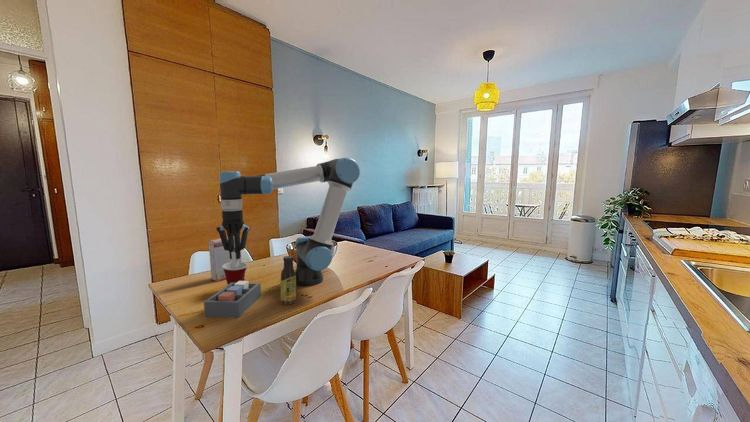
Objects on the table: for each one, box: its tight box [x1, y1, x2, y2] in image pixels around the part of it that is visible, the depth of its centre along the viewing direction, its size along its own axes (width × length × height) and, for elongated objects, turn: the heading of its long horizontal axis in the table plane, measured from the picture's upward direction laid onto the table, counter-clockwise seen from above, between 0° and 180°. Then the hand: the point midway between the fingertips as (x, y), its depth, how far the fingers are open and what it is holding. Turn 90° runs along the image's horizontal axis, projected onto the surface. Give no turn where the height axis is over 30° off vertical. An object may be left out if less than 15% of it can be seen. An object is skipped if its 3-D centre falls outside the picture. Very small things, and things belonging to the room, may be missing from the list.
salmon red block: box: [218, 292, 235, 301], centre depth 111 cm, size 4×4×5 cm
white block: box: [234, 280, 250, 289], centre depth 123 cm, size 4×4×5 cm
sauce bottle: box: [280, 255, 297, 306], centre depth 120 cm, size 6×6×20 cm
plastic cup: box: [222, 261, 249, 285], centre depth 134 cm, size 11×11×12 cm
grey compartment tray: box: [203, 282, 262, 319], centre depth 118 cm, size 13×20×6 cm, turn 179°
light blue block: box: [227, 286, 242, 294], centre depth 117 cm, size 4×4×5 cm
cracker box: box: [208, 236, 243, 283], centre depth 150 cm, size 14×6×21 cm, turn 144°
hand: (235, 266), depth 118 cm, fingers closed
